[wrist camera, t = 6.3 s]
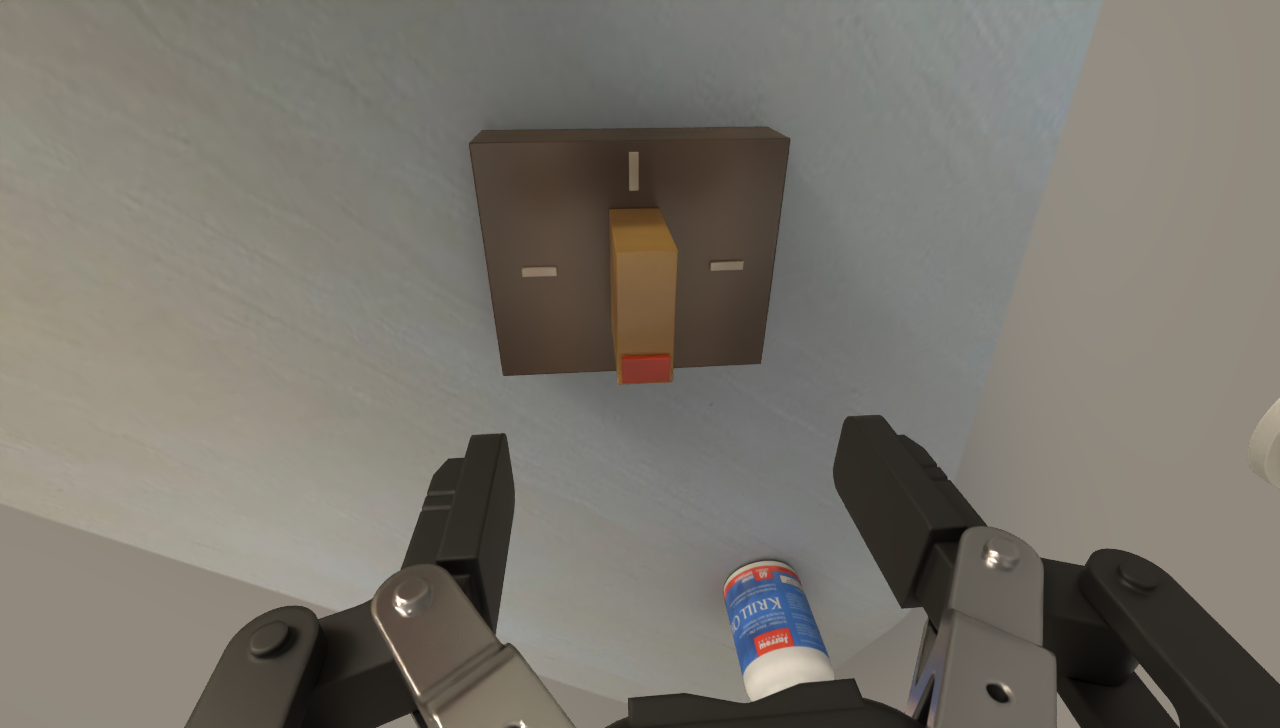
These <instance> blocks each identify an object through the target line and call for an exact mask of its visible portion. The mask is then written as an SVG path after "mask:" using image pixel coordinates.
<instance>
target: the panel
mask: <svg viewBox="0 0 1280 728" xmlns="http://www.w3.org/2000/svg"><path fill="white" fill-rule="evenodd" d="M789 146H790V138H788V137H786V136H785V135H783V134H781V133H779V132H777V131H775V130H773V129H771V128H769V127H706V128H626V129H545V130H482V131H480V132H479V133H478V135H477V136H476V137H475V138H474V139H473V140H472V141H471V142H470V143H469V148H470V155H471V162H472V168H473V175H474V182H475V189H476V196H477V202H478V209H479V216H480V223H481V230H482V236H483V243H484V250H485V257H486V264H487V270H488V277H489V284H490V291H491V298H492V304H493V311H494V318H495V325H496V332H497V338H498V345H499V352H500V359H501V366H502V372H503V376H514V375H535V374H556V373H577V372H598V371H616V362H615V352H614V343H613V334H612V324H611V285H610V239H609V209H640V208H659V209H660V211H661V214H662V216H663V218H664V220H665V223H666V225H667V227H668V229H669V232H670V234H671V236H672V238H673V240H674V243H675V245H676V247H677V249H678V271H677V294H676V316H675V339H674V362H673V368H683V367H705V366H726V365H747V364H761V360H762V352H763V345H764V337H765V329H766V322H767V314H768V306H769V299H770V291H771V284H772V276H773V268H774V261H775V253H776V245H777V238H778V230H779V223H780V215H781V207H782V200H783V192H784V184H785V177H786V169H787V161H788V154H789Z"/></svg>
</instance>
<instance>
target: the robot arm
mask: <svg viewBox="0 0 1280 728" xmlns="http://www.w3.org/2000/svg"><path fill="white" fill-rule="evenodd" d="M833 477H834V483H835V487H836V490H837V492H838V494H839V496H840V497H841V499H842V501H843V503H844V505H845V507H846V508H847V510H848V512H849V514H850V516H851V517H852V519H853V521H854V523H855V525H856V527H857V528H858V530H859V532H860V534H861V536H862V537H863V539H864V541H865V543H866V545H867V547H868V548H869V550H870V552H871V554H872V556H873V557H874V559H875V561H876V563H877V565H878V567H879V568H880V570H881V572H882V574H883V576H884V577H885V579H886V581H887V583H888V585H889V586H890V588H891V590H892V592H893V594H894V596H895V597H896V599H897V601H898V603H899V605H900V606H901V608H902V609H903V608H915V607H923V608H924V610H925V611H926V613H927V615H928V618H927V620H926V622H925V625H924V629H923V634H922V638H921V643H920V648H919V653H918V657H917V662H916V666H915V671H914V676H913V680H912V685H911V690H910V694H909V698H908V702H907V705H906V709H905V712H904V713H903V712H901V711H899V710H897V709H895V708H892V707H890V706H888V705H886V704H883V703H880V702H877V701H874V700H870V699H866V698H862V696H861V693H860V691H859V688H858V686H857V684H856V681H855V679H854V678H853V679H841V680H830V681H818V682H807V683H799V684H796V685H794V686H791V687H789V688H786V689H784V690H781V691H779V692H776V693H774V694H771V695H769V696H766V697H764V698H761V699H759V700H756V701H754V702H750V703H737V702H732V701H726V700H721V699H715V698H710V697H704V696H698V695H693V694H687V693H680V694H668V695H657V696H645V697H634V698H628V711H629V713H628V714H629V716H628V717H626V718H623V719H621V720H618V721H616V722H614V723H612V724H611V725H609V726H607V727H605V728H1057V692H1058V694H1059V695H1060V697H1061V698H1062V700H1063V701H1064V703H1065V704H1066V706H1067V707H1068V709H1069V710H1070V712H1071V714H1072V715H1073V717H1074V718H1075V720H1076V721H1077V723H1078V724H1079V726H1080V727H1081V728H1179V727H1178V726H1177V724H1176V723H1175V722H1174V720H1173V719H1172V718H1171V717H1170V716H1169V714H1168V713H1167V712H1166V710H1165V709H1164V708H1163V707H1162V705H1161V704H1160V703H1159V702H1158V701H1157V699H1156V698H1155V697H1154V695H1153V694H1152V693H1151V692H1150V690H1149V689H1148V688H1147V687H1146V685H1145V684H1144V683H1143V682H1142V680H1141V679H1140V678H1139V677H1138V675H1137V674H1136V673H1135V672H1134V670H1135V668H1136V667H1137V666H1138V665H1139V663H1140V665H1141V666H1142V667H1143V668H1144V669H1145V671H1146V672H1147V673H1148V674H1149V676H1150V677H1151V678H1152V679H1153V680H1154V682H1155V683H1156V684H1157V685H1158V687H1159V688H1160V689H1161V690H1162V691H1163V693H1164V694H1165V695H1166V696H1167V697H1168V699H1169V700H1170V702H1171V703H1172V704H1173V706H1174V708H1175V710H1176V712H1177V714H1178V717H1179V721H1180V728H1280V684H1279V683H1278V682H1277V681H1276V680H1275V679H1274V678H1273V677H1272V676H1271V675H1270V674H1269V673H1268V672H1267V671H1266V670H1265V669H1264V668H1263V667H1262V666H1261V665H1260V664H1259V663H1258V662H1257V661H1256V660H1255V659H1254V658H1253V657H1252V656H1251V655H1250V654H1249V653H1248V652H1247V651H1246V650H1245V649H1243V648H1242V646H1241V645H1240V644H1239V643H1238V642H1237V641H1236V640H1235V639H1234V638H1233V637H1232V636H1231V635H1230V634H1228V633H1227V631H1225V629H1224V628H1222V626H1221V625H1219V624H1218V623H1217V622H1216V621H1215V620H1214V619H1213V618H1212V617H1211V616H1210V615H1209V614H1208V613H1207V612H1206V611H1205V610H1204V609H1203V608H1202V607H1201V606H1200V605H1199V604H1198V603H1197V602H1196V601H1195V600H1194V599H1193V598H1192V597H1191V596H1190V595H1189V594H1188V593H1187V592H1186V591H1185V590H1184V589H1183V588H1182V587H1181V586H1180V585H1179V584H1178V583H1177V582H1176V581H1175V580H1174V579H1173V578H1172V577H1171V576H1170V575H1169V574H1168V573H1166V572H1165V571H1164V570H1162V569H1161V568H1160V567H1158V566H1157V565H1155V564H1153V563H1152V562H1150V561H1148V560H1146V559H1144V558H1142V557H1140V556H1137V555H1135V554H1132V553H1129V552H1126V551H1122V550H1117V549H1100V550H1097V551H1095V552H1094V553H1092V555H1091V556H1090V558H1089V559H1088V561H1087V562H1086V564H1085V566H1082V565H1077V564H1071V563H1066V562H1060V561H1055V560H1049V559H1045V558H1040V557H1039V555H1038V554H1037V553H1036V552H1035V550H1034V549H1033V548H1032V547H1031V546H1029V545H1028V544H1027V543H1026V542H1025V541H1023V540H1022V539H1020V538H1019V537H1017V536H1015V535H1012V534H1011V533H1009V532H1007V531H1004V530H1001V529H998V528H994V527H988V526H987V525H986V523H985V522H984V521H983V520H982V519H981V517H980V516H979V515H978V514H977V513H976V511H975V510H974V509H973V508H972V507H971V505H970V504H969V503H968V502H967V500H966V499H965V498H964V497H963V495H962V494H961V493H960V492H959V490H958V489H957V488H956V487H955V486H954V484H953V483H952V482H951V481H950V480H948V479H947V476H946V475H945V473H944V472H943V471H942V470H941V468H940V467H937V464H936V462H935V461H934V460H933V459H932V457H931V456H930V455H929V454H928V453H927V451H926V450H925V449H924V448H923V447H922V446H920V445H919V444H917V443H916V442H914V441H913V440H911V439H910V438H908V437H907V436H905V435H897V434H896V433H895V431H894V430H893V429H892V428H891V426H890V425H889V424H888V422H887V421H886V420H885V419H884V418H883V417H882V416H881V415H866V416H849V417H847V418H846V419H845V420H844V423H843V427H842V431H841V435H840V440H839V444H838V448H837V453H836V457H835V462H834V467H833ZM514 506H515V490H514V480H513V474H512V467H511V461H510V454H509V448H508V442H507V437H506V434H505V433H502V434H482V435H472V436H471V438H470V441H469V444H468V448H467V451H466V455H465V458H451V459H448V460H447V461H446V462H445V463H444V464H443V465H442V466H441V467H440V468H439V469H438V470H437V472H436V473H435V474H434V475H433V478H432V480H431V483H430V486H429V489H428V492H427V496H426V498H425V501H424V504H423V507H422V511H421V512H420V515H419V518H418V521H417V524H416V527H415V530H414V533H413V536H412V539H411V541H410V544H409V547H408V550H407V553H406V556H405V559H404V562H403V565H402V567H401V570H400V571H398V572H397V573H395V574H393V575H392V576H391V577H389V578H388V579H387V580H386V581H385V582H384V583H383V584H382V585H381V586H380V587H379V589H378V590H377V591H376V593H375V595H374V597H373V599H371V600H369V601H367V602H365V603H363V604H361V605H358V606H356V607H353V608H350V609H347V610H344V611H341V612H338V613H335V614H333V615H329V616H326V617H324V618H321V619H317V617H316V615H315V613H313V611H311V610H310V609H308V608H306V607H302V606H285V607H280V608H277V609H273V610H271V611H268V612H266V613H264V614H262V615H260V616H258V617H257V618H255V619H253V620H252V621H251V622H249V623H248V624H247V625H245V626H244V627H243V628H242V629H241V630H240V631H239V632H238V633H237V634H236V635H235V636H234V637H233V638H232V640H231V641H230V642H229V644H228V645H227V647H226V649H225V651H224V653H223V654H222V656H221V658H220V660H219V662H218V664H217V666H216V668H215V670H214V672H213V674H212V675H211V677H210V679H209V682H208V683H207V685H206V687H205V689H204V691H203V693H202V695H201V697H200V699H199V700H198V702H197V704H196V707H195V708H194V710H193V712H192V714H191V716H190V718H189V720H188V722H187V724H186V726H185V727H184V728H376V727H378V726H381V725H383V724H385V723H388V722H390V721H393V720H395V719H397V718H400V717H402V716H405V715H407V714H409V713H410V714H411V715H412V717H413V719H414V721H415V723H416V725H417V727H418V728H576V727H575V725H574V724H573V723H572V721H571V720H570V719H569V717H568V716H567V715H566V713H565V712H564V711H563V709H562V708H561V707H560V705H559V704H558V703H557V701H556V700H555V699H554V697H553V696H552V695H551V694H550V692H549V691H548V689H547V688H546V687H545V685H544V684H543V683H542V681H541V680H540V679H539V677H538V676H537V675H536V673H535V672H534V671H533V669H532V668H531V667H530V665H529V664H528V663H527V661H526V660H525V659H524V657H523V656H522V655H521V654H520V652H519V651H518V650H517V649H516V648H515V647H514V646H513V645H512V644H510V643H506V644H505V645H503V644H502V643H501V642H500V641H499V640H498V639H497V637H496V636H495V635H496V628H497V622H498V615H499V608H500V602H501V595H502V588H503V581H504V575H505V568H506V561H507V555H508V548H509V541H510V535H511V528H512V521H513V515H514Z"/></svg>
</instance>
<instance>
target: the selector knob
mask: <svg viewBox="0 0 1280 728" xmlns="http://www.w3.org/2000/svg"><path fill="white" fill-rule="evenodd" d="M609 239H610V285H611V324H612V334H613V343H614V352H615V362H616V371H617V380H618V384H619V385H620V384H643V383H665V382H672V381H673V362H674V339H675V316H676V294H677V271H678V249H677V247H676V245H675V243H674V240H673V238H672V236H671V234H670V232H669V229H668V227H667V225H666V223H665V220H664V218H663V216H662V214H661V211H660V209H659V208H640V209H609Z"/></svg>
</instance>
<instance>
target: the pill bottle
mask: <svg viewBox="0 0 1280 728" xmlns="http://www.w3.org/2000/svg"><path fill="white" fill-rule="evenodd" d="M724 599H725V604H726V608H727V612H728V616H729V620H730V624H731V629H732V633H733V637H734V642H735V646H736V650H737V654H738V659H739V663H740V667H741V671H742V676H743V680H744V684H745V688H746V691H747V694H748V696H749V698H750V699H751V700H752V701H753V702H754V701H756V700H759V699H761V698H764V697H766V696H769V695H771V694H774V693H776V692H779V691H781V690H784V689H786V688H789V687H791V686H794V685H796V684H799V683H807V682H818V681H830V680H834V671H833V668H832V665H831V662H830V659H829V656H828V654H827V651H826V648H825V646H824V643H823V640H822V638H821V635H820V632H819V630H818V627H817V624H816V622H815V619H814V616H813V614H812V611H811V609H810V606H809V603H808V601H807V598H806V595H805V593H804V590H803V588H802V585H801V582H800V580H799V578H798V576H797V574H796V572H795V571H794V570H793V569H792V568H791V567H790V566H788V565H786V564H784V563H781V562H777V561H760V562H755V563H752V564H749V565H746V566H744V567H742V568H740V569H738V570H737V571H736V572H734V573H733V574H732V575H731V576H730V577H729V578H728V580H727V582H726V584H725V587H724Z"/></svg>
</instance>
